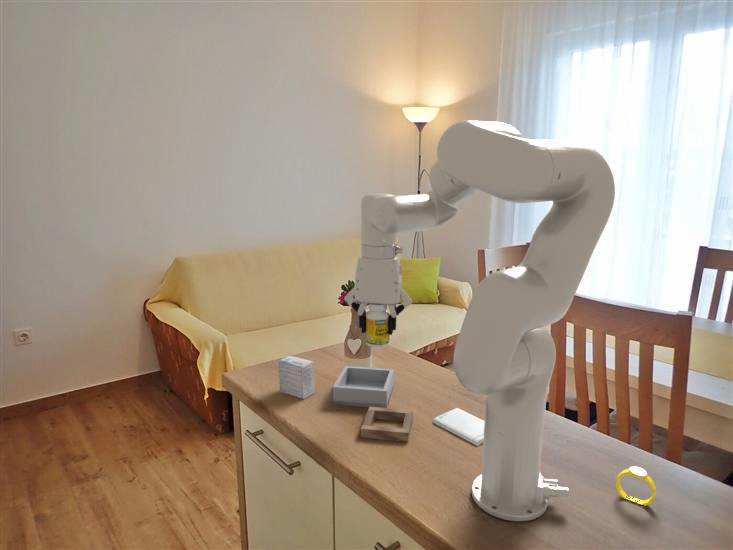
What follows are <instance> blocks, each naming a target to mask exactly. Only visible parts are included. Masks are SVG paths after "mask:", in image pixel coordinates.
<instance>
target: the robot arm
mask: <svg viewBox="0 0 733 550" xmlns="http://www.w3.org/2000/svg"><path fill="white" fill-rule="evenodd" d="M436 158H437V160H436V161H435V162H434V163H433V164H432V165H431V168H430V170H429V174H428V175H429V177H428V179H429V184H430V187H431V190H429V191H427V192H425V193H417V194H416V193H415V194H414V193H413V194H400V195H397V194H396V195H394V194H391V193H383V192H382V193H381V192H380V193H376V192H375V193H367V194H364V195H363V197H362V198H361V202H360V203H361V205H360V206H361V207H360V217H361V218H360V220H361V221H360V223H361V224H360V228H361V229H360V236H361V237H360V241H361V243H360V256H358V259H357V263H356V268H355V276H354V278H355V279H354V287H352V288H351V289H350V291H349V292H348V293H347V294H346V295H345V296H344V297H343V298H344V299H343V300H344V301H345V302H346V303H347V304H348V305H350V306H351V308H352V309H353V310H354V311H355V312H356V314H357V315H358V328H359V329H361V334H366V313H367V310H366V308H367V306H368V305H369V304H385V305H387V308H388V309H389V314H390V317H389V335H390V336H392V335H393V332H394V331H397V316H398V315H400V313H402V312H403V311H404V310H405V309H406V308H408V307H409V306H410V305H412V304H413V303H412V302H413V299H412V298H411V297H410V295H409V294H408V293H407V292H406V290H404V288H403V275H402V274H403V273H402V264H401V260H400V257H398V255H399V254H400V255H401V254H403V253H404V248H403V246H398V243H397V235H398V234H406V233H413V232H414V233H416V232H425V231H431V230H433V229H435V228H438V227H439V226H441V225H443V224H445V223H447V222H448V221H450V220H452V219H453V218H454V217H456V216H457V215H458V214H459V213H460V212H461V210H462V208H463V207H464V205H465V202H466V201H467V200H469V199H470V198H472V197H473V196H474V195H476V194H478V193H479V192H482V193H485V194H488V195H489V196H492V197H495V198H497V199H499V200H503V201H505V202H508V203H509V202H510V203H515V204H529V203H530V204H531V203H540V202H542V203H543V202H552V206H551V208H550V210H549V211H548V212H547V213H546V215H545V216H544V217H543V219H542V220H541V221H540V223H539V224H538V226H537V227H536V229H535V230H534V233H533V234H532V237H531V241H530V244H529V246H528V249H527V251H526V252H525V255H524V257H523V259H522V261H521V262H520V263H519V264H517V265H516V266H514V267H510V268H504V269H500V270H497V271H495V272H492V273H490V274H488V275H487V276H486V277H484V278H483V279H482V280H481V281H480V282H479V283H478V285H477V286H476V288H475V289H474V291H473V293H472V296H471V297H470V298H471V299H470V302H469V304H468V307H467V310H466V313H465V315H464V317H463V321H462V325H461V328H460V330H459V333H458V336H457V339H456V343H455V346H454V351H453V368H454V372H455V375H456V378H457V380H458V382H459V383H460V385H461V386H462V387H463V388H464V390H465V389H466V390H467V391H468V392H470V393H472V394H475V395H479V396H486V398H485V406H484V407H485V408H484V421H485V422H484V441H483V443H482V444H483V446H482V462H481V463H482V464H481V465H482V466H481V474H480V475H478V476H476V478H475V479H474V480H473V482H472V484H471V485H472V486H471V496H472V498H473V500H474V502H475V503H476V504H477V506H478V507H479V508H480V509H482V510H483V511H484V512H486V513H487V514H489V515H491V516H493V517H496V518H498V519H501V520H504V521H505V520H506V521H511V522H527V521H532V520H535V519H538V518H540V517H541V516H542V515H543V514H544V513H545V512H546V511H547V509H548V500H549V498H554V499H560V500H569V499H570V489H569V488H568V487H567V486H559V479H556V478H546V477H544V476H542V474H541V465H542V453H543V440H544V426H545V420H546V419H545V417H546V405H547V400H548V398H547V397H548V392H549V387H550V382H551V379H552V375H553V372H554V369H555V363H556V357H557V352H556V351H557V350H556V344H555V341H554V338H553V337H552V335H551V333H550V332H549V330H548V329H547V328H546V327H547V326H550V325H552V324H554V323H556V322H559V321H560V320H562V319H563V318H564V317H565V315H566V314H567V312H568V310H569V309H570V307H571V305H572V302H573V301H574V297H575V295H576V292H577V291H578V288H579V286H580V283H581V281H582V279H583V277H584V274H585V272H586V271H587V267H588V265H589V263H590V260H591V258H592V255H593V254H594V251H595V249H596V247H597V245H598V242H599V240H600V238H601V236H602V234H603V232H604V230H605V228H606V225H607V224H608V221H609V219H610V216H611V213H612V211H613V208H614V203H615V195H616V187H615V179H614V175H613V172H612V170H611V167H610V165H609V163H608V162H607V161H606V159H605V158H604V157H603V155H602V154H601V153H600V152H598V150H596V149H595V148H593V147H591V146H590V145H588V144H585V143H583V142H579V141H576V140H568V139H567V140H566V139H540V138H539V139H537V138H534V139H533V138H532V139H530V138H524V137H523V134H521V132H519V130H518V128H517V129H516V127H514V126H512V125H510V124H507V123H505V122H501V121H490V120H489V121H488V120H486V121H485V120H484V121H483V120H469V119H468V120H467V119H466V120H460V121H457V122H456V123H453V124H451V125H450V126H449V127H448V128H446V130H445V131H443V134H441V137H440V138H439V140H438V143H437V147H436ZM401 299H402V300H403V301H402V302H401V303H400V301H401ZM399 303H400V304H399ZM397 304H398V305H397Z"/></svg>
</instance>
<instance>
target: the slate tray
mask: <svg viewBox="0 0 733 550" xmlns="http://www.w3.org/2000/svg"><path fill="white" fill-rule="evenodd" d="M394 386H395V369H393V368H381V367H380V368H379V367H365V366H364V367H363V366H349V365H344V367H343V369H342V370H341V372H340V374H339V375H338V377H337V379H336V381H335V382H334V384H333V386H332V404H333V405H335V404H338V405H337V406H345V407H346V406H349V407H360V408H369V407H379V408H389V403H390V400H391V397H392V393H393V390H394Z"/></svg>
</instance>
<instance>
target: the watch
mask: <svg viewBox="0 0 733 550" xmlns="http://www.w3.org/2000/svg"><path fill="white" fill-rule="evenodd" d="M625 475H626V476H627V475H630V476H631V477H633V478H634V479H638V480H644V481H646V483H647V484H648V485H649V487H650V489H651V496H650V498H647V499H644V500H643V499H640V498H637V497H634V496H631V495H629V496H630V497H631V498H630V497H628V496H627V495H628V494H627V493H626V492H625V491H624V490H623V488H622V486H621V485H622V484H621V478H622V477H623V476H625ZM615 488H616V491H617V493H618V495H619V496H620V497H621V498H622V499H623V498H624V499H625V498H626V496H627V497H628V498H630V499H628V498H626V499H628V500H631V501H633V502H637V501H638V502H637V503H638V504H641V505H644V506H643V507H645V506H648V505H650V504H651V503H652V502H653V501H654V500H655V499H656V496H657V486H656V484H655V482H654V480H653V479H652V478H651V477H650V476H649V475H648V472H647V470H645V469H644V468H642V467H640V466H635V465H632V466H630V467H629V468H627V469H623V470H622V471H621V472H620V473H618V475H617V477H616V480H615ZM633 497H634V498H633ZM632 498H633V499H632ZM624 499H623V500H624ZM635 500H636V501H635ZM639 500H640V501H639ZM638 504H637V505H638Z"/></svg>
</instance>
